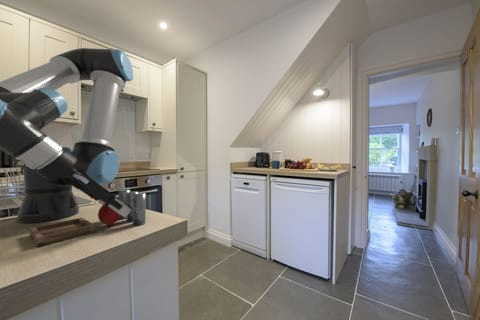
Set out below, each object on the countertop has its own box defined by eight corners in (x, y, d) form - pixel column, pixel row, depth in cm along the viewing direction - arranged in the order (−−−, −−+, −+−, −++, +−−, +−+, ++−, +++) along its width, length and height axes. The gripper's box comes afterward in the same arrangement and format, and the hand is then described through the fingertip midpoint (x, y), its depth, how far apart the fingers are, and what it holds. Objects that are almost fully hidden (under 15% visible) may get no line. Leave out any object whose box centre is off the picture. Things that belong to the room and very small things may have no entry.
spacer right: (130, 223, 60) (131, 193, 61) (141, 221, 63) (142, 192, 63) (135, 226, 58) (137, 195, 58) (147, 223, 61) (148, 193, 61)
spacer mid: (124, 220, 64) (124, 192, 64) (135, 217, 67) (135, 190, 66) (129, 222, 62) (129, 193, 62) (140, 219, 64) (140, 192, 64)
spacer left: (116, 217, 66) (116, 190, 67) (127, 215, 69) (127, 189, 69) (120, 219, 64) (121, 191, 65) (131, 217, 67) (132, 190, 67)
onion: (126, 222, 62) (125, 197, 61) (112, 229, 56) (111, 201, 56) (108, 222, 62) (108, 196, 62) (93, 228, 56) (92, 200, 56)
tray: (29, 235, 52) (29, 227, 52) (82, 223, 61) (82, 217, 60) (37, 247, 45) (37, 238, 45) (95, 232, 54) (95, 225, 54)
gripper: (28, 169, 52) (102, 216, 65) (42, 173, 41) (128, 229, 54) (55, 149, 56) (119, 197, 70) (75, 148, 45) (147, 206, 58)
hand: (123, 211), depth 62 cm, fingers closed on onion, 6 cm apart
